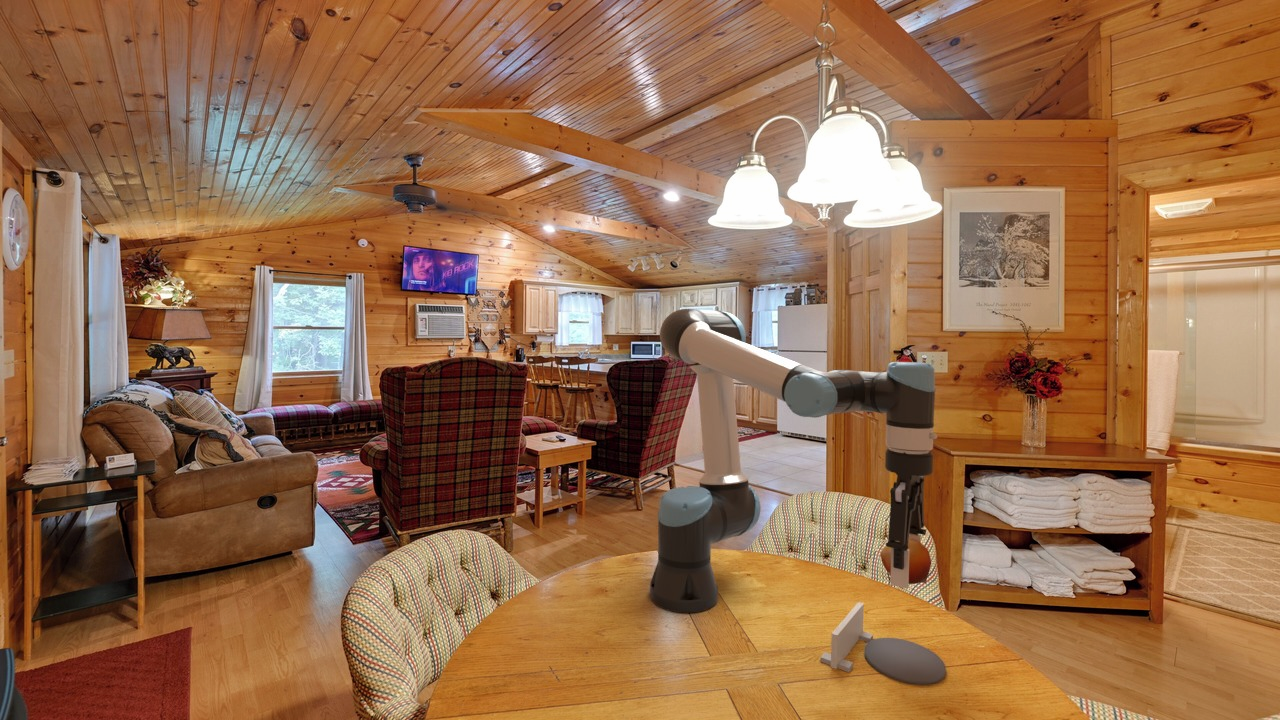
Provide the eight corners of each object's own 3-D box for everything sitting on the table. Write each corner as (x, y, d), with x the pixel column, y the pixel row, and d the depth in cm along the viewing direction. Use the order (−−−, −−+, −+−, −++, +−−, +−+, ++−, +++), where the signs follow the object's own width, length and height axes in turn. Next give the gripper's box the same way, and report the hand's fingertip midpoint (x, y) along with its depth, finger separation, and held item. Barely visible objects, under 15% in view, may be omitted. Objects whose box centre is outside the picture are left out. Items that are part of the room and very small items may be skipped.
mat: (854, 664, 95) (854, 660, 95) (875, 634, 105) (875, 630, 105) (937, 695, 87) (937, 690, 87) (951, 659, 97) (951, 655, 97)
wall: (819, 662, 96) (820, 629, 95) (847, 628, 107) (848, 598, 107) (848, 673, 92) (849, 639, 92) (873, 637, 104) (874, 606, 104)
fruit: (949, 583, 91) (924, 540, 91) (905, 602, 92) (881, 560, 93) (933, 564, 98) (910, 525, 99) (893, 582, 100) (870, 544, 101)
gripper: (919, 462, 84) (915, 605, 85) (944, 444, 101) (941, 564, 101) (869, 455, 89) (865, 591, 90) (900, 439, 105) (898, 554, 106)
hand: (905, 577), depth 96 cm, fingers closed on fruit, 8 cm apart
